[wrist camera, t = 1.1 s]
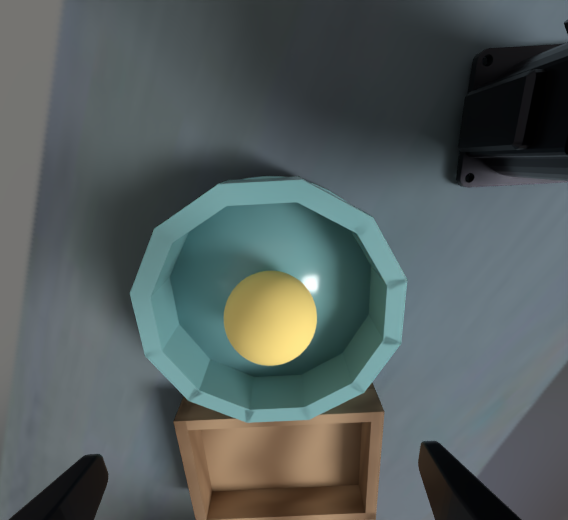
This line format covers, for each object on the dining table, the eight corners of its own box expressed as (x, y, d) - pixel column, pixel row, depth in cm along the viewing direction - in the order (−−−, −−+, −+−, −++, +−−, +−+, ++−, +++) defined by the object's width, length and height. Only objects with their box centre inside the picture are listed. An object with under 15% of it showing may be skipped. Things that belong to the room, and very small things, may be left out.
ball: (311, 256, 17) (322, 292, 12) (312, 329, 19) (323, 385, 14) (227, 260, 17) (207, 298, 13) (236, 332, 19) (221, 390, 14)
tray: (372, 382, 21) (384, 411, 19) (366, 483, 24) (375, 519, 22) (185, 391, 21) (173, 421, 19) (205, 490, 25) (197, 527, 22)
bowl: (392, 169, 16) (419, 171, 13) (378, 377, 21) (395, 417, 18) (136, 182, 16) (101, 188, 13) (179, 387, 21) (161, 427, 18)
